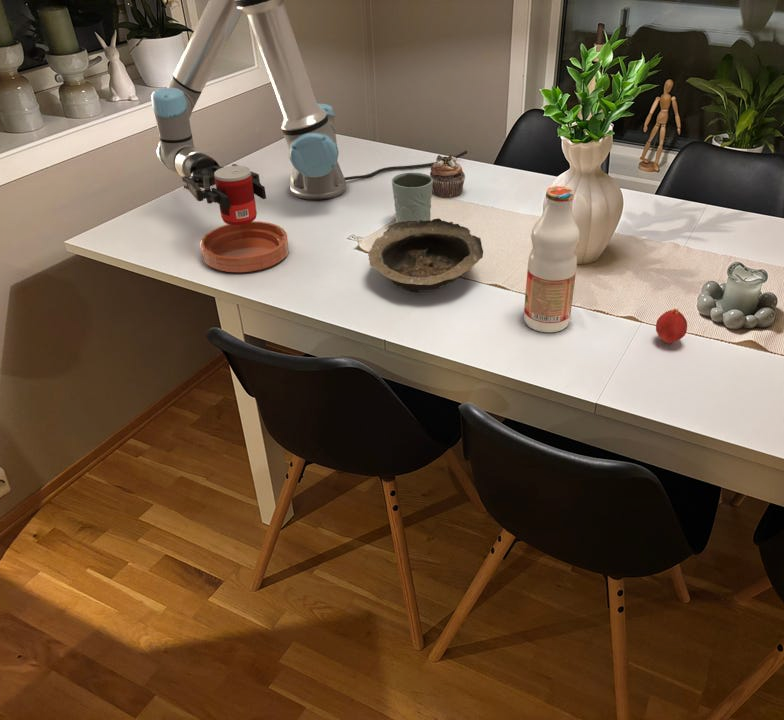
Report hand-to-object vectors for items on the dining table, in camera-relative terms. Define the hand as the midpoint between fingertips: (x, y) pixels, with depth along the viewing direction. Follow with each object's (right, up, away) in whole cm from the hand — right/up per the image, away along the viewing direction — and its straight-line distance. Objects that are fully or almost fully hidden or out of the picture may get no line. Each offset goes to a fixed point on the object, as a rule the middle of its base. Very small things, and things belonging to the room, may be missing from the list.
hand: (246, 198), depth 159 cm
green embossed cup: (+35, -1, +26) cm, 44 cm away
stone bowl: (+39, -17, +4) cm, 43 cm away
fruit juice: (+64, -28, -10) cm, 71 cm away
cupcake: (+44, +11, +44) cm, 63 cm away
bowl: (-3, -11, +12) cm, 16 cm away
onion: (+87, -32, -16) cm, 94 cm away
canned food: (-3, -3, +7) cm, 8 cm away
